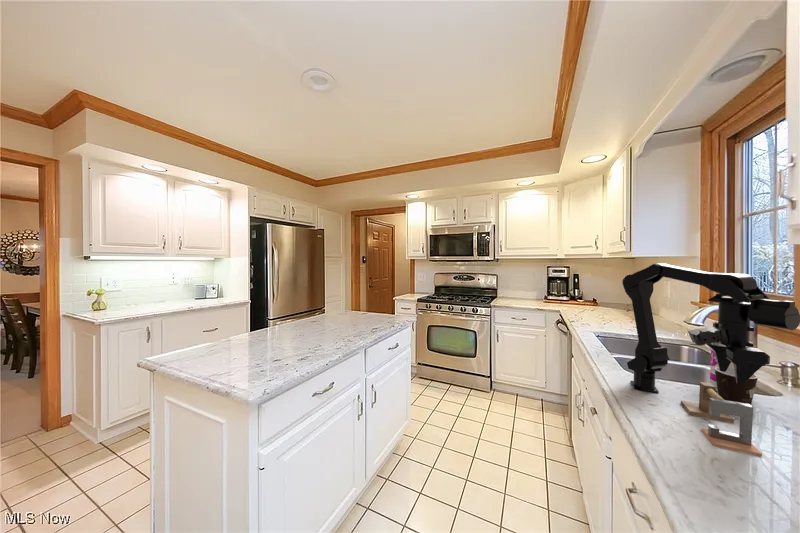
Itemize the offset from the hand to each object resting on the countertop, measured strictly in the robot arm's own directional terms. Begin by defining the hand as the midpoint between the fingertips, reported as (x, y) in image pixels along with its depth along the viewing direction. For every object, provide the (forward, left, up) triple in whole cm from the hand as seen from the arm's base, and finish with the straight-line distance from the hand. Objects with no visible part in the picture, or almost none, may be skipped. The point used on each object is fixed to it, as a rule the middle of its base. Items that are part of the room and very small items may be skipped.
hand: (730, 377), depth 79 cm
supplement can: (-26, +9, -13) cm, 31 cm away
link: (+11, -4, -12) cm, 17 cm away
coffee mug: (-14, +5, -13) cm, 20 cm away
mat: (+11, -4, -13) cm, 17 cm away
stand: (0, -3, -13) cm, 13 cm away
